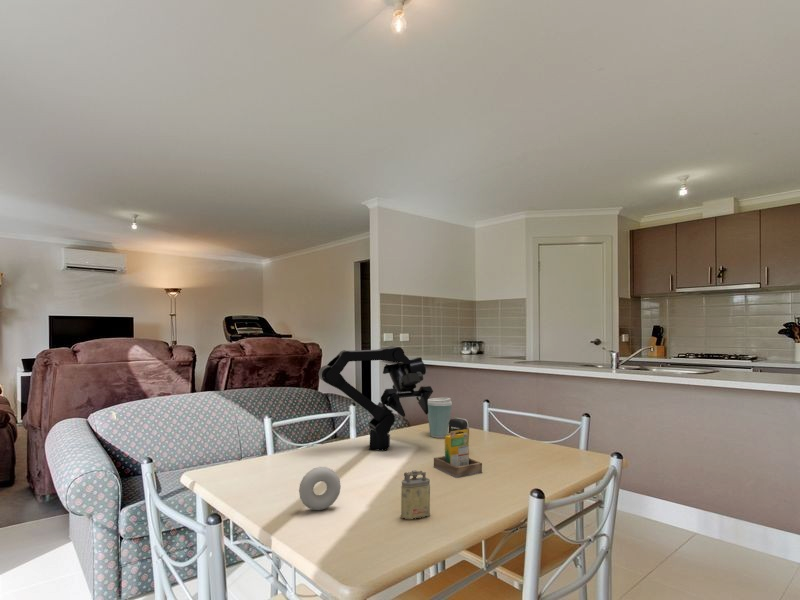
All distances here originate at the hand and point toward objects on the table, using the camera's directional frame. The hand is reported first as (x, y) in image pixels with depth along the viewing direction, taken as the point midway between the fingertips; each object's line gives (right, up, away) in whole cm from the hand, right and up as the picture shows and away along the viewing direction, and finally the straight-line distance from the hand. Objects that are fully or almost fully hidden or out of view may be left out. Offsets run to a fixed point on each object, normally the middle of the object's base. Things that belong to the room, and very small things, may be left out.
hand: (416, 415), depth 157 cm
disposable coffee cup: (+10, -15, +27) cm, 33 cm away
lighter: (-2, -11, -50) cm, 51 cm away
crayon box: (+12, -12, -15) cm, 23 cm away
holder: (+12, -13, -15) cm, 23 cm away
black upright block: (+15, -14, +4) cm, 21 cm away
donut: (-25, -11, -47) cm, 54 cm away
